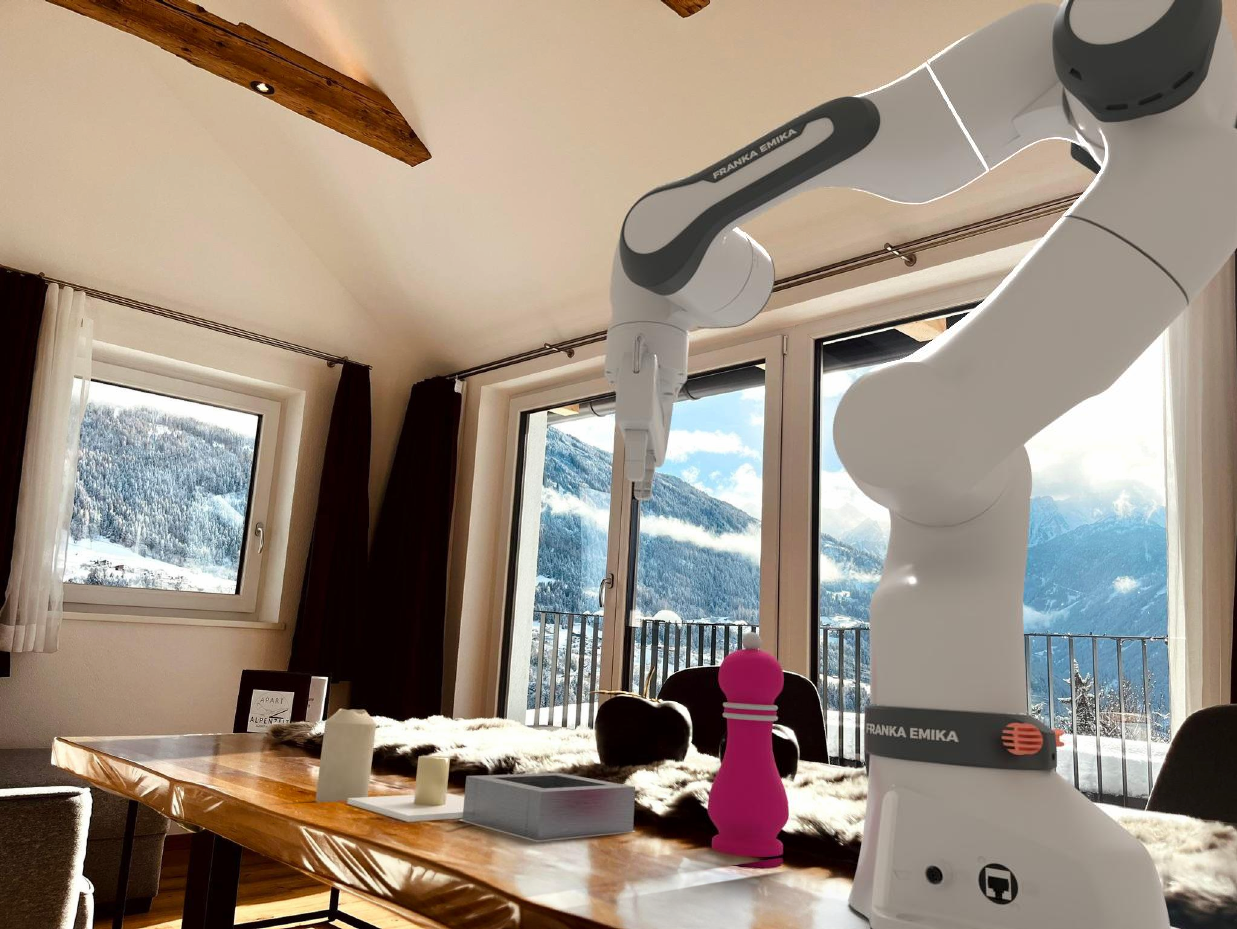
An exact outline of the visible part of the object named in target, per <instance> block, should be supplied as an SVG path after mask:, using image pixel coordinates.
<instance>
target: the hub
mask: <svg viewBox="0 0 1237 929" xmlns="http://www.w3.org/2000/svg"><path fill="white" fill-rule="evenodd" d="M450 761H451V757H448V756H443V755H442V756H440V755H439V756H438V755H421V756H420V755H419V756H418V760H417V767H416V768H417V769H416V777H415V787H414V789H415V790H414V794H403V795H385V796H368V797H361V798H348V801H346V802H347V805H350V806H353V807H357V808H360V809H363V810H367V811H370V812H374V813H377V814H380V815H384V816H387V817H391V818H393V819H397V820H400V821H404V822H407V823H414V822H415V823H416V822H427V821H429V822H430V821H439V820H442V821H443V820H454V819H455V820H456V819H463V808H464V797H465V796H460V795H457V794H453V793H449V792H448V782H449V781H448V780H449V772H450V771H449V770H450Z"/></svg>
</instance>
